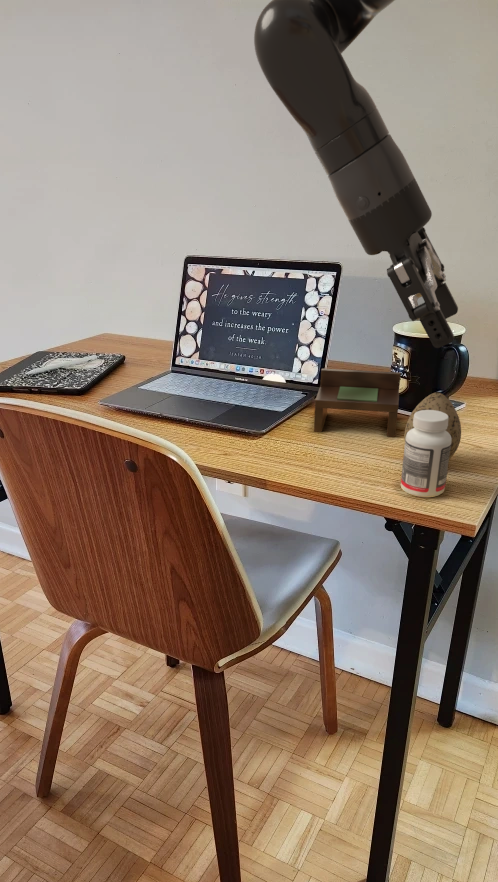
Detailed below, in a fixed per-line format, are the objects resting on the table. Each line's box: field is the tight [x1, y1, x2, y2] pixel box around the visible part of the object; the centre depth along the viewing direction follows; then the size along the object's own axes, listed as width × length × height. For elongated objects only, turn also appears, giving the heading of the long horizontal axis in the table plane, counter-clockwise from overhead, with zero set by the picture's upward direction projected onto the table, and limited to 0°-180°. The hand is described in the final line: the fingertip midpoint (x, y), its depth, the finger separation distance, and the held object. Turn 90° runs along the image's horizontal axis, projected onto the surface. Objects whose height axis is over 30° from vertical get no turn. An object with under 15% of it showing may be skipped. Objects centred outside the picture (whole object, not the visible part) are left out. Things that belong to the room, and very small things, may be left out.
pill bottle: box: [400, 410, 452, 498], centre depth 84 cm, size 5×5×10 cm
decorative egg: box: [403, 392, 462, 460], centre depth 90 cm, size 7×7×10 cm
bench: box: [313, 368, 402, 438], centre depth 105 cm, size 12×8×8 cm, turn 76°
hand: (447, 329), depth 76 cm, fingers open, 8 cm apart
